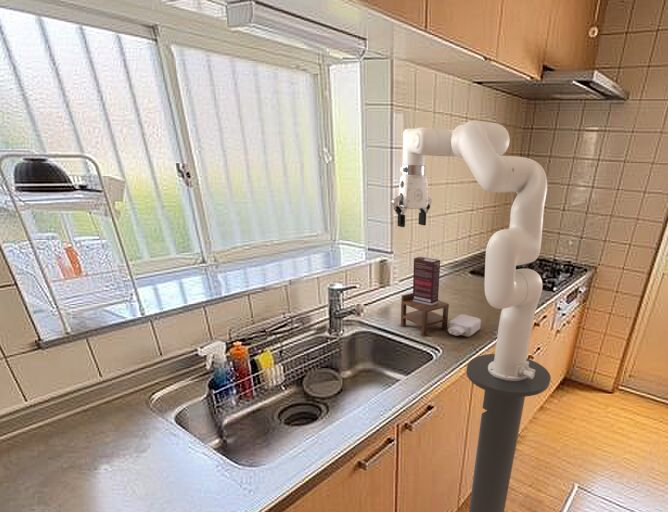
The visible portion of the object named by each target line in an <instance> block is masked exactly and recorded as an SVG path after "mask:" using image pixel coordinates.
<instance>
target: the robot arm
mask: <svg viewBox="0 0 668 512" xmlns="http://www.w3.org/2000/svg"><path fill="white" fill-rule="evenodd" d="M510 141H511V138H510V134H509V131H508V130H507V129H506V127H505V126H503V124H500V123H497V122H491V121H485V120H475V119H474V120H470V121H467V122H466V123H462V124H458V126H456V127H455V128H454V129H444V128H436V127H426V126H421V127H417V128H412V127H410V128H409V127H408V128H405V129H404V130H403V132H402V160H401V161H402V162H401V163H402V164H401V165H402V166H401V167H400V172H401V175H400V178H399V185H398V195H397V196H396V197H395V198H393V199H392V200H391V204H392V207H393V210H394V211H395V214H396V215H397V227H400V228H405V227H406V214H405V213H406V212H407V209H408V210H419V212H418V225H420V226H426V225H427V214H429V210H430V208H431V205H432V203H433V199H432V198H431V197H429V185H428V184H429V183H428V177H427V176H426V156H434V157H451V158H452V157H454V158H455V157H456V158H459V159H463V161H464V162H465V164H466V166H467V167H468V169H469V170H470V172H471V174H472V176H473V177H474V179H475V180H476V183H477V184H478V185H479V186H480V187H481V188H482V189H483V190H484V191H486V192H489V193H515V194H516V196H515V198H514V200H513V202H512V205H511V209H510V214H509V217H510V219H509V226H508V228H503V229H500V230H498V231H495V232H494V233H493V234H492V235H491V237H490V238H489V239H488V242H487V245H486V249H485V262H484V295H485V299H486V301H487V303H488V305H490V306H491V307H492V308H494V309H496V310H501V311H500V315H499V322H498V329H497V336H496V342H495V350H494V354H495V357H494V361H493V362H491V363H490V364H489V365H488V371H489V373H490V374H491V375H493V376H494V377H496V378H499V379H502V380H507V381H520V380H524V379H526V378H527V377H528V378H530V379H533V377H534V375H535V374H534V373H535V370H534V369H532V368H529V361H526V359H528V352H529V347H530V340H531V335H532V330H533V329H532V328H533V325H534V321H535V316H536V315H535V314H536V312H537V311H536V310H537V307H538V304H539V302H540V299H541V296H542V293H543V287H544V286H543V285H544V283H543V280H542V277H541V275H540V274H539V273H538V272H537V271H535V270H534V269H531V268H519V269H518V268H517V266H522V265H528V264H531V263H534V262H535V261H536V260H537V259H538V258H539V256H540V254H541V248H542V238H543V228H544V227H543V226H544V212H545V204H546V199H547V192H548V177H547V174H546V171H545V169H544V167H542V165H541V164H540V163H539V162H537V161H536V160H534V159H532V158H528V157H524V156H515V155H504V154H506V152H507V151H508V148H509V146H510Z"/></svg>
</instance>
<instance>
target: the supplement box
mask: <svg viewBox="0 0 668 512" xmlns="http://www.w3.org/2000/svg"><path fill="white" fill-rule="evenodd" d="M440 271H441V259H437V258H432V257H425V256H417V257H414V258H413V274H412V275H413V277H412V278H413V279H412V293H413V301H414V302H418V303H422V304H427V305H431V306H432V305H435V304H437V303H438V300H439V289H440Z"/></svg>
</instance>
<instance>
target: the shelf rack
mask: <svg viewBox="0 0 668 512" xmlns="http://www.w3.org/2000/svg"><path fill="white" fill-rule="evenodd" d="M400 300H401V301H400V304H401V306H400V326H401V327H406V326H407V321H409V322H412V323H414V324H416V325H418V326H420V327H421V332H420V333H421V334H420V335H421V336H422V337H426V336H427V335H428V327H430V326H433V325H436V324H440V323H441V329H442V330H444V331H445V330H448V322H449V319H448V318H449V308H450V307H449V306H450V304H449V303H447V302H445V301H442V300H439V299H438V303H437V304H435V305H432V306H431V305H427V304H422V303H418V302H414V301H413V292H410V293H406V294H401V299H400ZM407 307H410V308H413V309H415V310H413V311H409V312H407ZM440 309H442V315H441V314H439V313H436V312H434V311H437V310H440Z"/></svg>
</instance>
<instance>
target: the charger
mask: <svg viewBox="0 0 668 512" xmlns="http://www.w3.org/2000/svg"><path fill="white" fill-rule="evenodd" d="M481 324H482V320H481V319H480V318H479V317H476V316H471V315H467V314H464V313H460V314H459V315H457V316H455V317H454V318H452V319H450V320H448V324H447V332H448V333H449V334H450V335H453V336H462V337H463V336H464V337H465V338H466V337H467V338H468V337H471V336H473V335H474V334H475V333H477V332H478V331H479V330H481Z"/></svg>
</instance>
